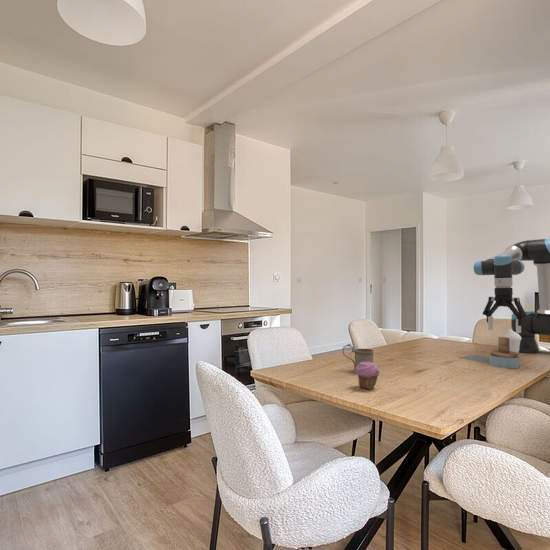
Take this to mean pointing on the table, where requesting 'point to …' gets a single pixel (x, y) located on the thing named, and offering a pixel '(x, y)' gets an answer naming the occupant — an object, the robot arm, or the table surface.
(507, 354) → the lid
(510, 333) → the soft serve ice cream cone
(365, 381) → the cupcake
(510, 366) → the bowl
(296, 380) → the table surface
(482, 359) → the mat
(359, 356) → the mug
